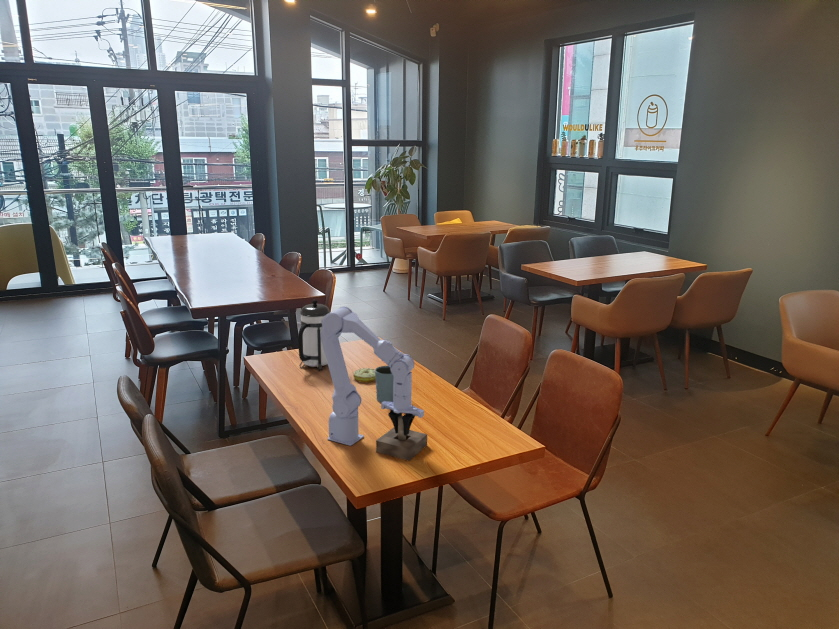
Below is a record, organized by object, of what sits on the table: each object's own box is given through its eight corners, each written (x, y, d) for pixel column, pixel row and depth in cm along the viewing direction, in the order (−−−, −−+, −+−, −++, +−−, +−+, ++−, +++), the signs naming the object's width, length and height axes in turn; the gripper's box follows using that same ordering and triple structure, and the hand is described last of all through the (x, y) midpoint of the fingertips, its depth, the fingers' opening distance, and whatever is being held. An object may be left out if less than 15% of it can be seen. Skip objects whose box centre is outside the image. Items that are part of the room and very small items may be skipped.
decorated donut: (383, 377, 266) (383, 368, 265) (372, 385, 257) (372, 376, 256) (361, 373, 270) (361, 365, 269) (349, 381, 260) (349, 373, 259)
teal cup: (370, 400, 241) (369, 371, 237) (383, 392, 249) (383, 363, 246) (393, 406, 236) (393, 376, 233) (406, 397, 245) (406, 368, 242)
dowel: (396, 440, 202) (396, 417, 200) (400, 437, 204) (400, 414, 202) (403, 442, 201) (403, 419, 198) (407, 439, 203) (407, 416, 201)
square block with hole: (376, 451, 201) (376, 440, 200) (395, 437, 211) (395, 426, 210) (409, 460, 195) (409, 449, 194) (427, 445, 206) (427, 434, 204)
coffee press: (294, 362, 282) (292, 296, 274) (330, 359, 287) (329, 294, 279) (299, 375, 266) (297, 306, 258) (337, 371, 271) (336, 303, 263)
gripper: (376, 393, 198) (376, 432, 202) (416, 402, 191) (416, 443, 195) (387, 386, 204) (387, 424, 208) (427, 394, 197) (426, 434, 201)
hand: (402, 433), depth 202 cm, fingers closed on dowel, 2 cm apart
